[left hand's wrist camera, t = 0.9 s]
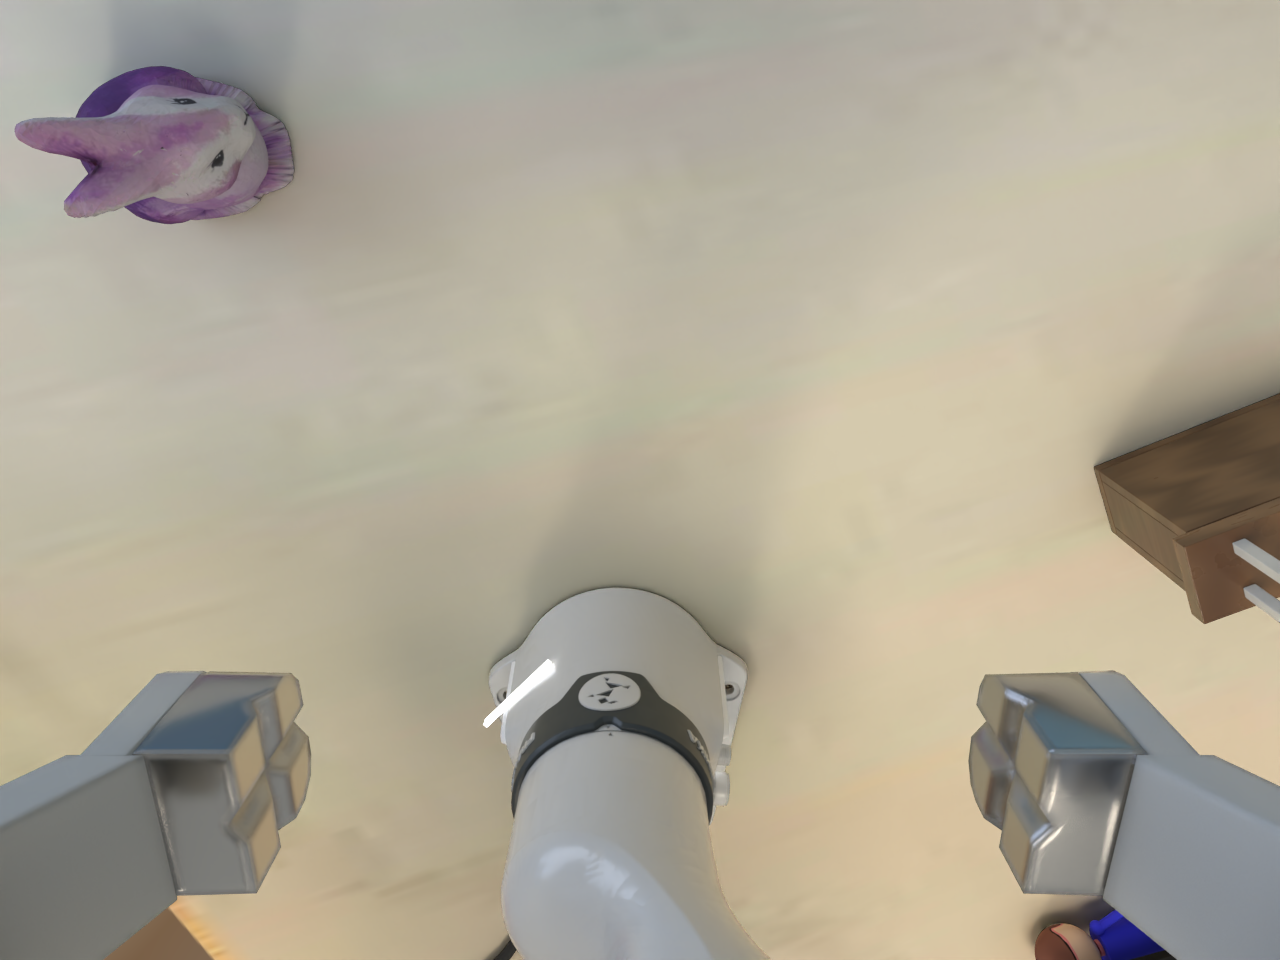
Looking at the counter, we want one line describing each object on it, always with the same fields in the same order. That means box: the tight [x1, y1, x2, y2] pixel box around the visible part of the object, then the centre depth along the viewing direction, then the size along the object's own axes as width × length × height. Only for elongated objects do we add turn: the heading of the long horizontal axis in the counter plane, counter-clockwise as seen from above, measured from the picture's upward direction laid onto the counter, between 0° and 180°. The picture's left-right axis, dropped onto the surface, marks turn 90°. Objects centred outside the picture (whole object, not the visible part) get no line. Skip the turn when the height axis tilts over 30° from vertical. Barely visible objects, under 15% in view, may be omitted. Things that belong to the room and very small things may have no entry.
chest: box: [1094, 394, 1280, 591], centre depth 53 cm, size 14×5×11 cm, turn 115°
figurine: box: [15, 66, 294, 224], centre depth 44 cm, size 9×10×15 cm
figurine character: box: [1035, 910, 1177, 960], centre depth 69 cm, size 7×8×15 cm
